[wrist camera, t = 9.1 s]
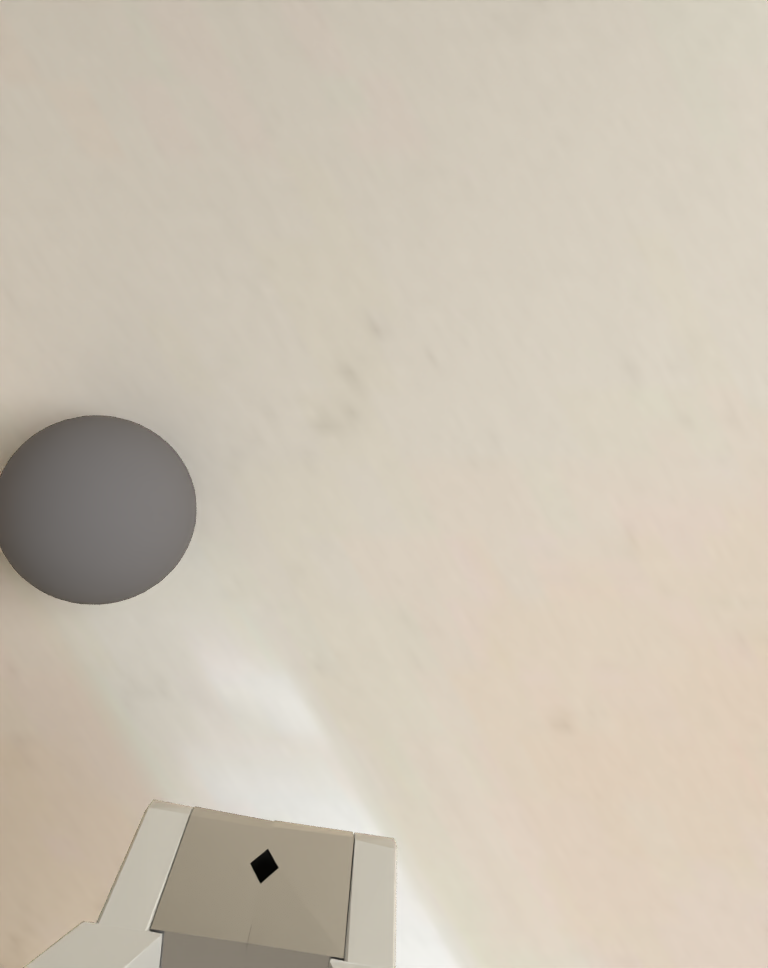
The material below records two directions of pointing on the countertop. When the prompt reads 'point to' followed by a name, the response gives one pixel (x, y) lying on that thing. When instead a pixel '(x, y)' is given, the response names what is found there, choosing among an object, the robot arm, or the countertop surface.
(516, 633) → the countertop surface
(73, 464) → the gray ball
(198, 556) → the countertop surface
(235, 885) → the robot arm
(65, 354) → the countertop surface
